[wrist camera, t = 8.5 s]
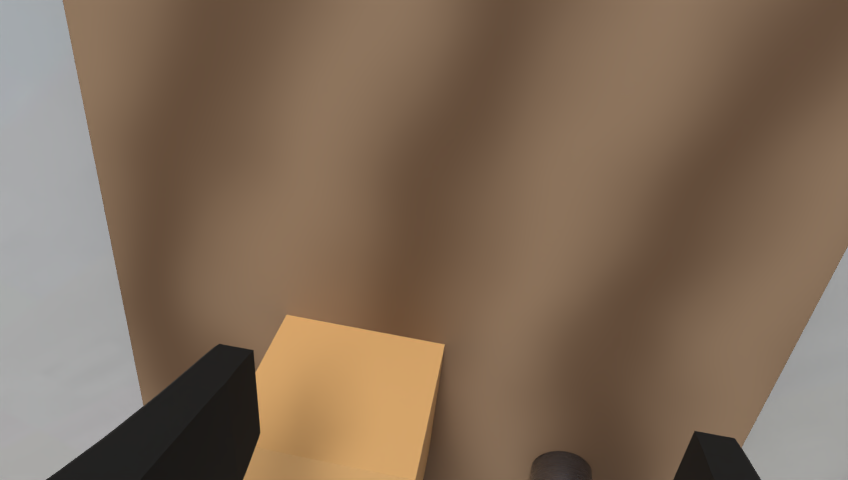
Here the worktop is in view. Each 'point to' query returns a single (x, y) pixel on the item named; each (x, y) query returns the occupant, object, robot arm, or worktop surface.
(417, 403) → the peach wooden cube
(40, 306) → the worktop surface
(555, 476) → the dark post
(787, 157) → the walnut board
